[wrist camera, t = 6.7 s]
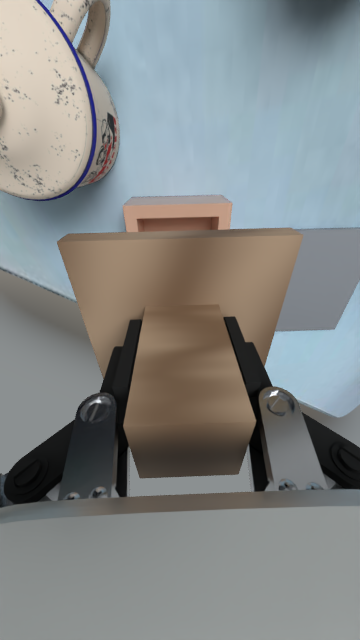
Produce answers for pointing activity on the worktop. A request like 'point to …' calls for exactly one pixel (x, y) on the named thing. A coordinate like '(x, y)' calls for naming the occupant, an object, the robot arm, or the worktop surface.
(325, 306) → the mat
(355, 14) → the worktop surface
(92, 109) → the teacup with lid
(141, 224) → the dish
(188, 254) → the lid
